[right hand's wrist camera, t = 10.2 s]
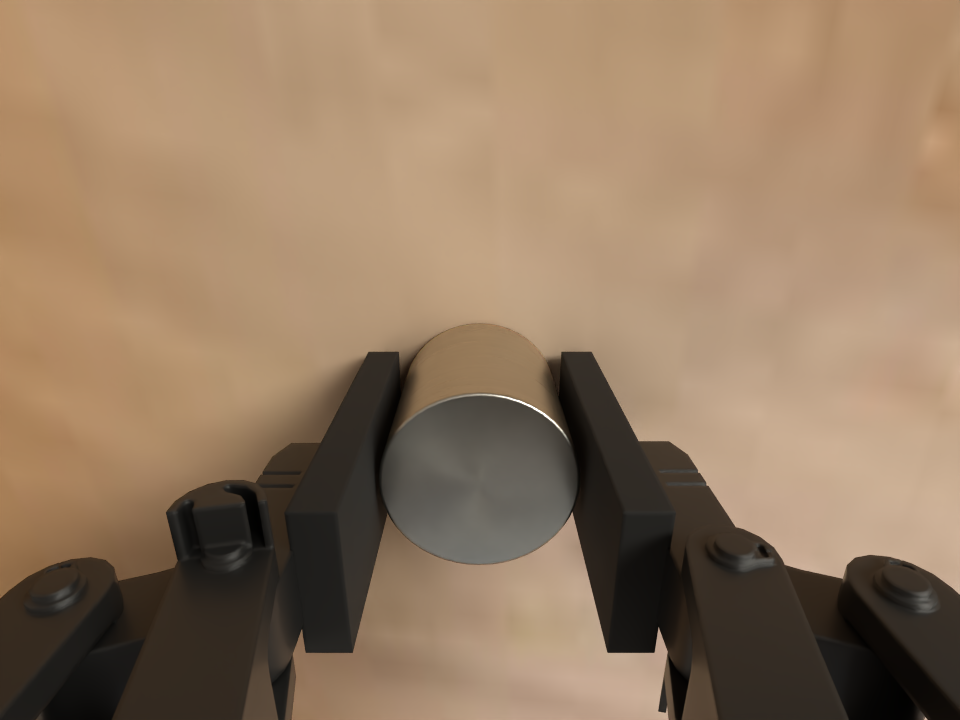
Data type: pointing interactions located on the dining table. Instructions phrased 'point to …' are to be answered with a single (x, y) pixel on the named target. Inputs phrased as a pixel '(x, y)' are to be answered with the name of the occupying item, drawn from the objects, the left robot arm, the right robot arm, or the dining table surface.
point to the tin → (479, 449)
